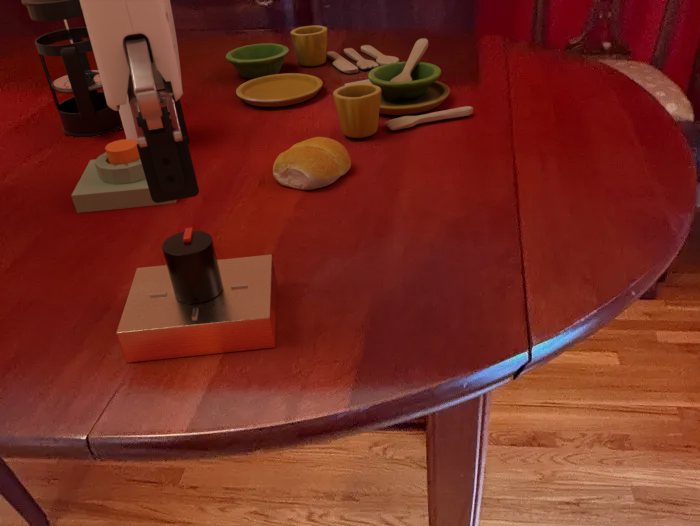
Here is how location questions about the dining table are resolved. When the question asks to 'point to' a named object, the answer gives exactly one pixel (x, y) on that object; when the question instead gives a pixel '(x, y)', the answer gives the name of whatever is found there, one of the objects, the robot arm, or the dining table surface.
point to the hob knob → (192, 266)
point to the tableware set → (353, 98)
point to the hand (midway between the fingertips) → (172, 171)
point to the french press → (73, 72)
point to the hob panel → (200, 313)
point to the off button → (122, 151)
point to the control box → (112, 187)
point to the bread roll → (312, 164)
